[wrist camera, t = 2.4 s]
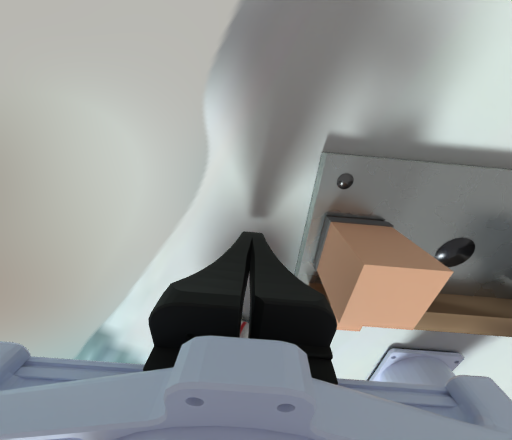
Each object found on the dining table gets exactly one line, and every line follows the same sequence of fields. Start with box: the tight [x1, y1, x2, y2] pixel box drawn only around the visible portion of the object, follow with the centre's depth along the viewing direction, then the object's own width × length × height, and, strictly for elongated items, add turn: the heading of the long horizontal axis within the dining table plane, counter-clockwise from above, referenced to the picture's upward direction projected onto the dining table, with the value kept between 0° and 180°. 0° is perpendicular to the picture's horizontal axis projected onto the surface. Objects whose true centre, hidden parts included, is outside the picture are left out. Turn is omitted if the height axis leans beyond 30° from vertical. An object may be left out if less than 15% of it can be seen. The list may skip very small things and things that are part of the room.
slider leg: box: [313, 216, 453, 331], centre depth 12 cm, size 7×4×5 cm, turn 175°
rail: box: [308, 283, 512, 337], centre depth 15 cm, size 2×20×2 cm, turn 85°
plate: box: [294, 152, 512, 299], centre depth 14 cm, size 12×22×1 cm, turn 85°
